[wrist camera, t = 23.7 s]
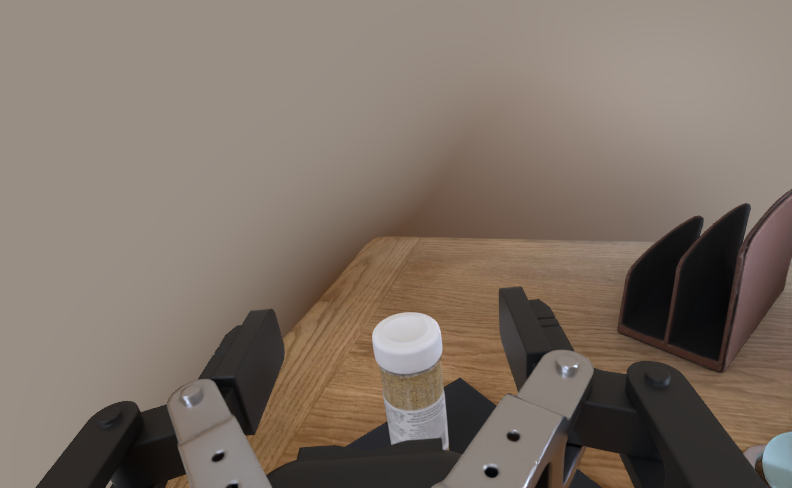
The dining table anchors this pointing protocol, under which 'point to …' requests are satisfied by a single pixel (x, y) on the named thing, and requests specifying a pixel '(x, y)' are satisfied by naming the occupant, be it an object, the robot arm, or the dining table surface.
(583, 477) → the placemat
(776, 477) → the pacifier
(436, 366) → the sprinkles bottle
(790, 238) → the letter holder
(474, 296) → the dining table surface
